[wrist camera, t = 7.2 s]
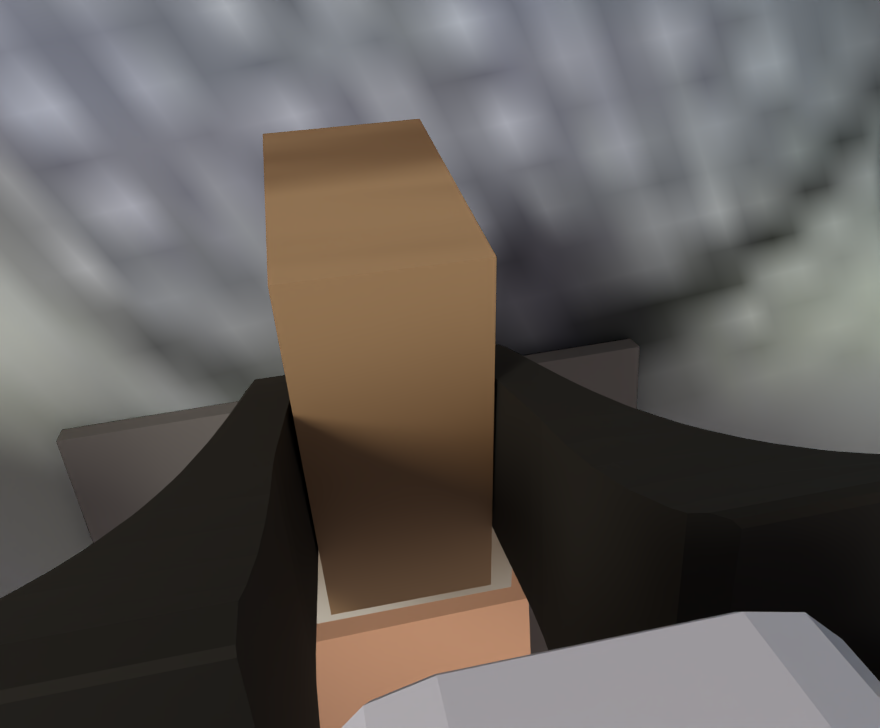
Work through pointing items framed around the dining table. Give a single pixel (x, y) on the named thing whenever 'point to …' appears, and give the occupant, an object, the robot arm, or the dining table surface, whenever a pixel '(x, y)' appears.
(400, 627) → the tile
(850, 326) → the dining table surface
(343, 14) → the dining table surface
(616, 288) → the dining table surface
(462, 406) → the tall cardboard box
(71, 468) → the mat
